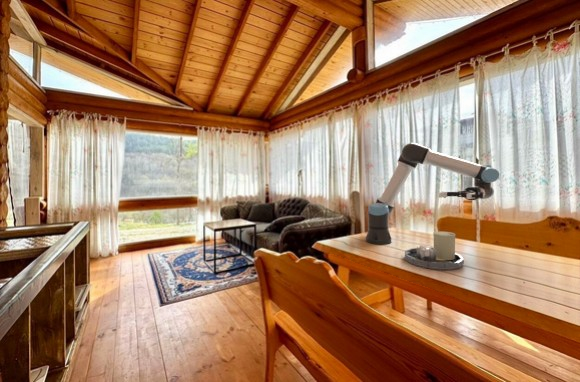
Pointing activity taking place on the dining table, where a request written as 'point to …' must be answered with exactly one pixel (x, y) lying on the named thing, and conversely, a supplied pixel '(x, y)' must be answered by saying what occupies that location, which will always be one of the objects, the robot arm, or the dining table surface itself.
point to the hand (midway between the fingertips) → (452, 195)
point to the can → (444, 245)
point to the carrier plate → (431, 259)
